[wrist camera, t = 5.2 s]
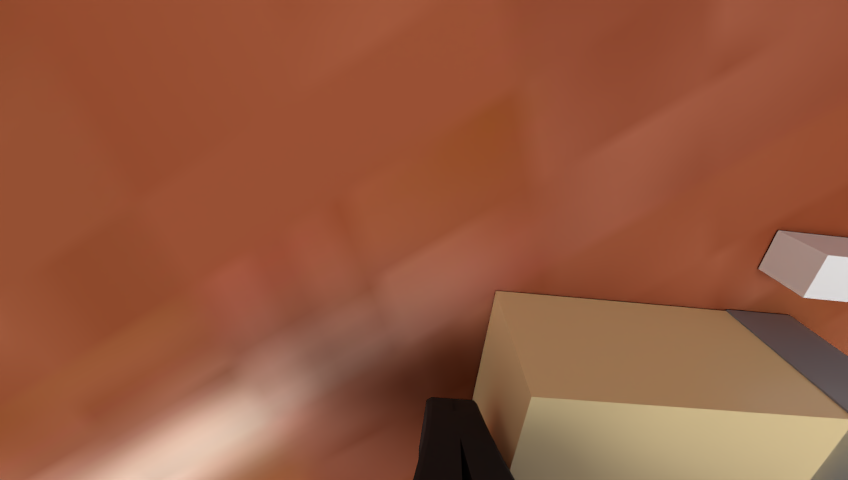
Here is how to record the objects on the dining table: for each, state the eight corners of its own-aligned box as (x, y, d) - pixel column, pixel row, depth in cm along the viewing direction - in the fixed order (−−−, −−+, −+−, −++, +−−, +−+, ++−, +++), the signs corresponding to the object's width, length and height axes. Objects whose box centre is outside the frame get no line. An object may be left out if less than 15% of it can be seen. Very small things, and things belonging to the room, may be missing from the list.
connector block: (708, 454, 15) (803, 583, 11) (463, 439, 14) (480, 570, 11) (789, 314, 12) (943, 424, 9) (496, 289, 12) (532, 394, 8)
